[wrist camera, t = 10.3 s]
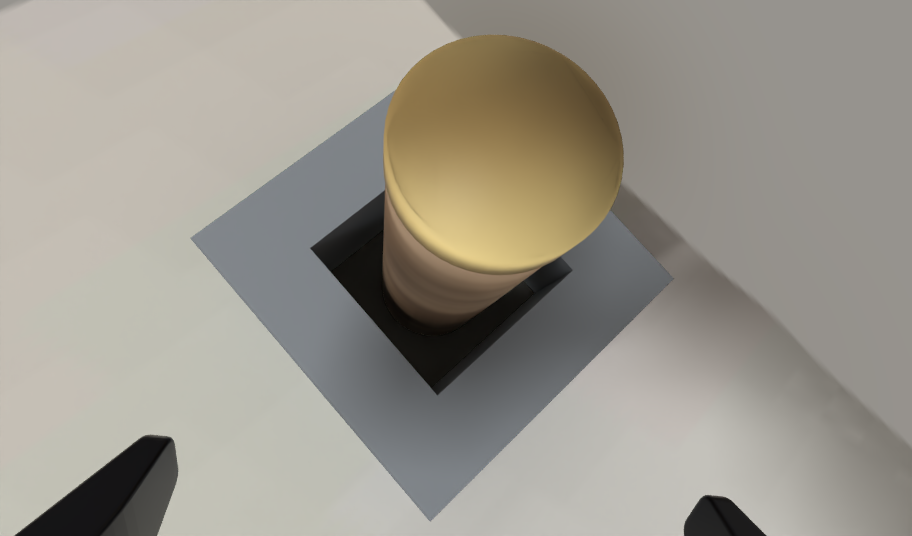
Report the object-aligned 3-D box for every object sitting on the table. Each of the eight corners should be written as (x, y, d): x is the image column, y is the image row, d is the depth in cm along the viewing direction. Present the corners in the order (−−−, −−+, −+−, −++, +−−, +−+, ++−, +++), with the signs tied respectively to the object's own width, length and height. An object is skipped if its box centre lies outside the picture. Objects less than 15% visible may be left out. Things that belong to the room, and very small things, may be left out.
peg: (494, 322, 22) (655, 232, 9) (394, 348, 21) (418, 288, 8) (467, 227, 22) (582, 19, 10) (370, 248, 22) (358, 54, 9)
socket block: (616, 299, 22) (673, 278, 18) (419, 491, 20) (430, 521, 15) (443, 108, 23) (457, 45, 19) (230, 269, 21) (190, 237, 16)
